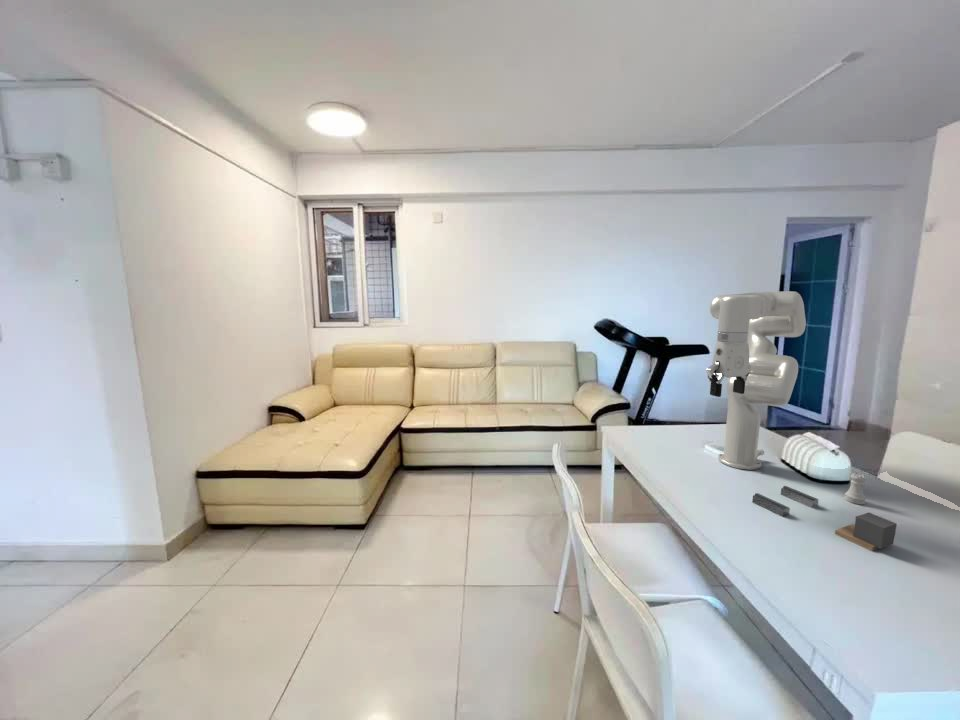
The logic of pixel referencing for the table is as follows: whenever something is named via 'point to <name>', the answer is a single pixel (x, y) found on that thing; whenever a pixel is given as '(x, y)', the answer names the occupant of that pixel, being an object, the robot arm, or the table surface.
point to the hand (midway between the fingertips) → (727, 394)
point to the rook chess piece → (856, 489)
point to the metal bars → (781, 508)
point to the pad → (848, 534)
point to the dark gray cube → (874, 530)
